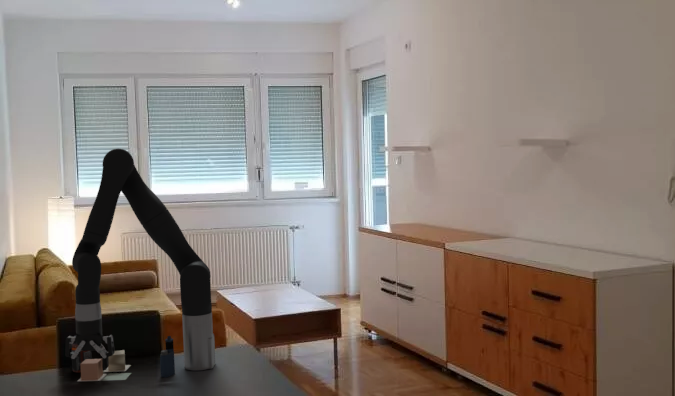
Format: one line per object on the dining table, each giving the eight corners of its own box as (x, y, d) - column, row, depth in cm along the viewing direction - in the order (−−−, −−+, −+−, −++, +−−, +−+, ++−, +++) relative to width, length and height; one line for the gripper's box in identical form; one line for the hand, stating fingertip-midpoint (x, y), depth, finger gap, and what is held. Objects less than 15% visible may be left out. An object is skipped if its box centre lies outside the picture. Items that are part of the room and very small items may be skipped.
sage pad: (131, 374, 235) (131, 372, 235) (125, 381, 228) (125, 379, 228) (108, 374, 235) (108, 373, 235) (102, 381, 228) (102, 380, 228)
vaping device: (176, 374, 234) (175, 335, 233) (166, 379, 229) (164, 339, 228) (169, 373, 235) (168, 335, 234) (159, 378, 230) (157, 339, 229)
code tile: (107, 374, 235) (107, 373, 235) (100, 381, 228) (100, 380, 228) (84, 375, 235) (84, 374, 235) (76, 382, 228) (76, 381, 228)
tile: (131, 366, 244) (131, 364, 244) (125, 372, 237) (125, 371, 237) (109, 366, 244) (109, 365, 244) (102, 373, 237) (102, 372, 237)
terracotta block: (102, 374, 234) (102, 358, 234) (97, 379, 229) (97, 363, 229) (86, 375, 234) (85, 359, 234) (81, 380, 229) (80, 363, 229)
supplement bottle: (95, 368, 243) (93, 333, 242) (87, 373, 237) (85, 337, 237) (77, 368, 244) (75, 333, 243) (69, 373, 238) (67, 338, 237)
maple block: (125, 365, 244) (124, 350, 244) (125, 369, 239) (124, 354, 239) (108, 367, 242) (108, 351, 242) (108, 371, 238) (107, 355, 237)
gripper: (115, 314, 235) (117, 366, 236) (69, 315, 235) (71, 366, 236) (108, 319, 227) (110, 373, 228) (60, 320, 227) (62, 374, 228)
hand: (90, 370), depth 232 cm, fingers open, 8 cm apart
